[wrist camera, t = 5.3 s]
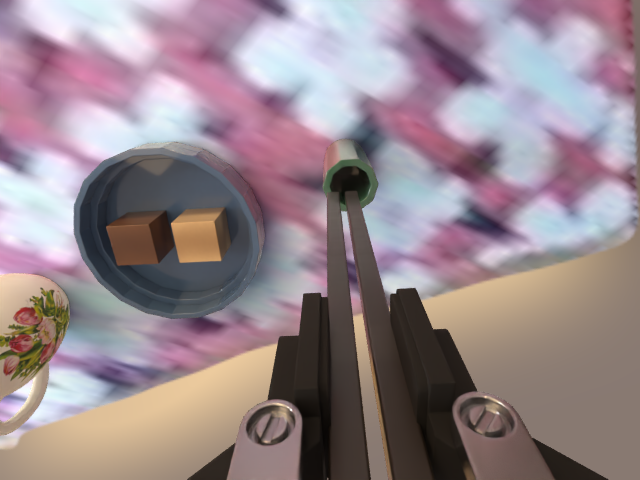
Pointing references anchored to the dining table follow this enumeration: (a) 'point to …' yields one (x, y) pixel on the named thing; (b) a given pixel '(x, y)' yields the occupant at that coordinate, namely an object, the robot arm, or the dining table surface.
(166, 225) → the walnut block
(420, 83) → the dining table surface
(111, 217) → the bowl
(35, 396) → the pitcher
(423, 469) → the chopsticks
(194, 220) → the beech block
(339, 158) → the holder
